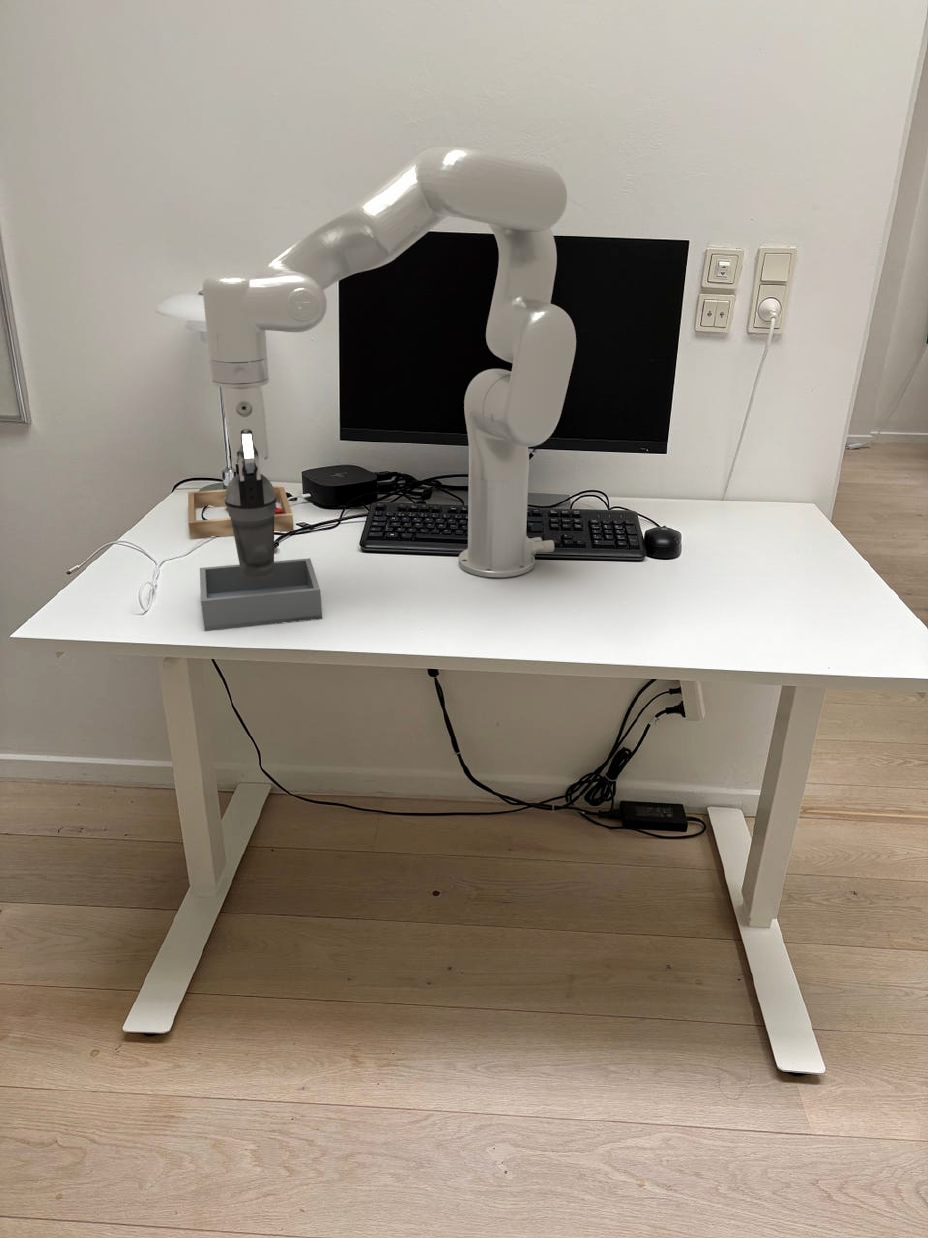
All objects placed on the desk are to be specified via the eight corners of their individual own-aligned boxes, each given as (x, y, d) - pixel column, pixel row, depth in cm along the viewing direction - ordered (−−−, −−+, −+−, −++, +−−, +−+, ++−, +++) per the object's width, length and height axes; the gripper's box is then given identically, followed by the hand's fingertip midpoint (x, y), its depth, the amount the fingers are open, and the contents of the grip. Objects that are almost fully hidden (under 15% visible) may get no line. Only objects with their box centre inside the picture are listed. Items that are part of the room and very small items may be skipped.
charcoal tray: (311, 585, 151) (310, 558, 149) (322, 618, 140) (320, 589, 138) (203, 595, 147) (199, 567, 145) (204, 630, 136) (200, 601, 134)
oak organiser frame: (284, 500, 189) (283, 485, 187) (293, 530, 173) (292, 515, 172) (189, 507, 184) (188, 492, 183) (190, 539, 169) (188, 522, 167)
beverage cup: (271, 586, 137) (259, 449, 128) (224, 582, 138) (209, 446, 130) (290, 567, 144) (280, 436, 135) (244, 563, 145) (231, 433, 136)
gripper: (273, 383, 122) (283, 516, 129) (263, 359, 137) (272, 479, 144) (212, 386, 120) (226, 520, 127) (209, 361, 135) (221, 482, 143)
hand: (250, 498), depth 136 cm, fingers closed on beverage cup, 7 cm apart
